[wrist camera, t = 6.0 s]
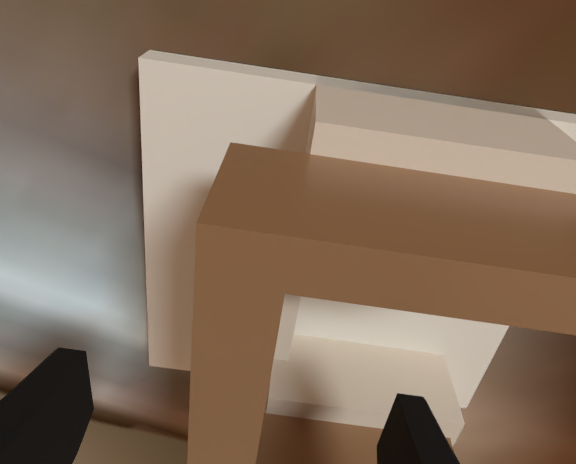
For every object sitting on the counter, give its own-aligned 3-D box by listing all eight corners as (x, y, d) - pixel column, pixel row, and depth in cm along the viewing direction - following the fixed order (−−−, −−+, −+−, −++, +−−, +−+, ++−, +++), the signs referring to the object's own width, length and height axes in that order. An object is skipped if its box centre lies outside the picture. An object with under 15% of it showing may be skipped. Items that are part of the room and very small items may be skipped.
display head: (594, 117, 14) (683, 176, 10) (459, 388, 20) (488, 479, 17) (149, 50, 13) (93, 88, 10) (156, 347, 20) (122, 432, 16)
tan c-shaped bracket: (579, 194, 11) (677, 292, 8) (439, 458, 16) (465, 575, 13) (230, 141, 11) (196, 222, 8) (208, 428, 16) (184, 539, 13)
